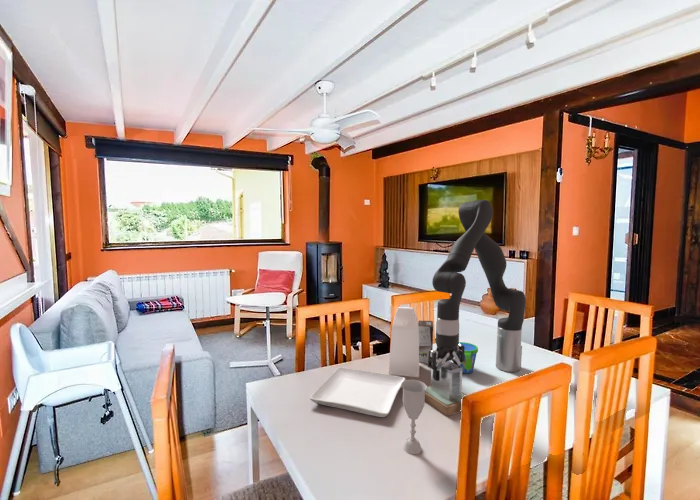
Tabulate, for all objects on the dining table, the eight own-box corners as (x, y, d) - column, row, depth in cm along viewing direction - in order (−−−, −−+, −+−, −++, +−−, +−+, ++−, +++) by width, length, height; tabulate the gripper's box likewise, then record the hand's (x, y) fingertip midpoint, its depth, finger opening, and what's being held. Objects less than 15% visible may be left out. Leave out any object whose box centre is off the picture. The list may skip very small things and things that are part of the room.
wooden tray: (443, 389, 138) (444, 381, 138) (473, 407, 126) (473, 397, 126) (418, 397, 132) (418, 388, 132) (446, 416, 120) (446, 406, 120)
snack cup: (448, 361, 164) (449, 339, 163) (474, 363, 162) (475, 340, 161) (451, 377, 149) (452, 352, 148) (479, 379, 147) (480, 354, 146)
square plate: (308, 408, 126) (308, 397, 125) (339, 374, 151) (339, 365, 151) (387, 424, 116) (387, 412, 116) (406, 386, 142) (406, 376, 142)
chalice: (397, 440, 108) (398, 380, 106) (421, 439, 108) (422, 379, 106) (403, 457, 100) (404, 392, 98) (428, 456, 101) (430, 391, 99)
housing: (442, 385, 134) (443, 357, 133) (461, 396, 126) (462, 367, 125) (430, 389, 132) (431, 360, 131) (449, 400, 124) (450, 370, 123)
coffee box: (432, 363, 162) (433, 326, 160) (417, 362, 163) (417, 325, 162) (432, 355, 171) (433, 320, 169) (417, 354, 172) (418, 319, 171)
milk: (419, 365, 160) (420, 305, 157) (419, 377, 149) (420, 312, 146) (390, 363, 162) (391, 303, 159) (388, 374, 151) (389, 310, 148)
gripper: (455, 324, 133) (453, 369, 135) (423, 331, 126) (422, 377, 128) (471, 330, 127) (469, 377, 129) (439, 337, 120) (437, 386, 122)
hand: (446, 377), depth 128 cm, fingers open, 8 cm apart
